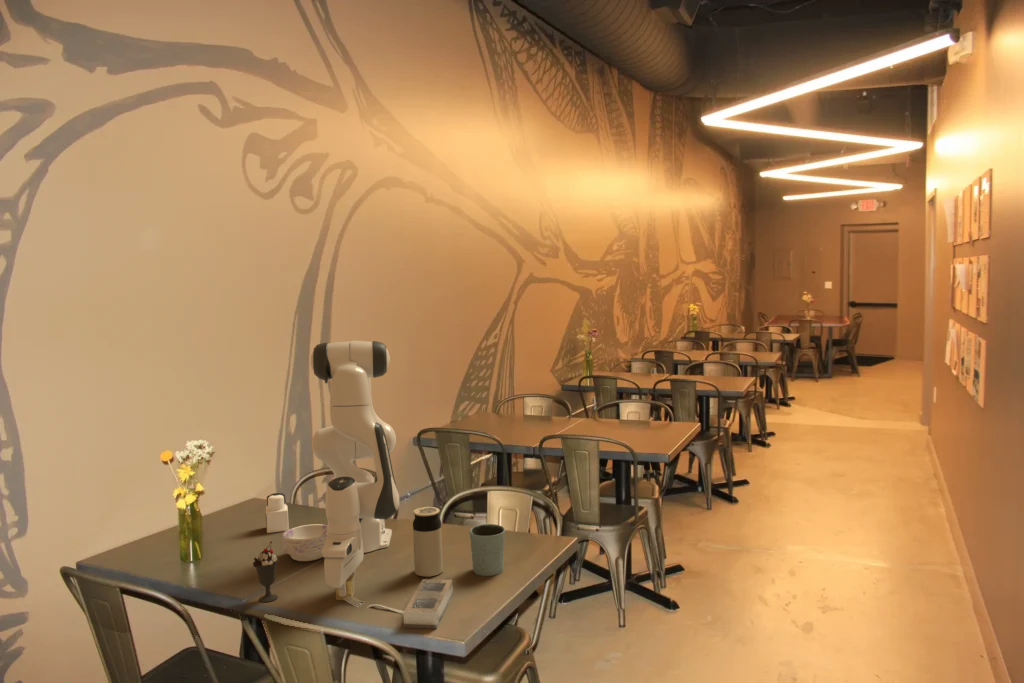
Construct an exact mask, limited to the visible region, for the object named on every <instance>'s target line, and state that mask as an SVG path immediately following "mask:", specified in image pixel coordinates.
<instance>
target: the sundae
mask: <svg viewBox="0 0 1024 683" xmlns="http://www.w3.org/2000/svg"><path fill="white" fill-rule="evenodd" d="M272 543H273V541H269V544H268V545H267V547H266V548H263V551H261V552H260V553H259V554H258V556H257V557H254V558H253V562H252V564H253V567H254V568H256V571H257V572H256V573H257V577H258V581H259V584H260V585H262V586H264V588H265V594H264V595H261V596H260V597H259V598H258V601H259V602H260V603H270V602H271V603H272V602H275V601H276V600H277V599H278V598H279V596H278V594H275V593H271V586H272V585H273V584H274V582H275V581H276V576H277V567H278V566H277V565H278V563H279V561H280V559H279V558H277V556H276V555H275V554H274V550H273V549H272ZM269 546H270V547H269ZM268 547H269V549H268Z"/></svg>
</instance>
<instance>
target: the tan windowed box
mask: <svg viewBox="0 0 1024 683" xmlns="http://www.w3.org/2000/svg"><path fill="white" fill-rule="evenodd" d="M453 596H454V583H453V579H432V578H431V579H429V578H428V579H427V578H425V579H424V578H423V579H422V580H421V582H420V583H419V585H418V587H417V588H416V590H415V592H414V593H413V595H412V597H411V599H410V600H409V601H408V604H407V605H406V607H405V609H404V610H403V611H404V612H403V613H404V614H403V628H404V629H428V630H429V629H431V630H436V629H438V627H439V625H440V623H441V621H442V619H443V616H444V614H445V612H446V610H447V608H448V607H449V604H450V602H451V600H452V599H453Z"/></svg>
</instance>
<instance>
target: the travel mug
mask: <svg viewBox="0 0 1024 683" xmlns="http://www.w3.org/2000/svg"><path fill="white" fill-rule="evenodd" d="M439 513H440V508H438V507H434V506H423V507H418V508H415V509H414V510H413V513H412V514H413V516H414V519H413V522H412V535H413V536H412V538H413V559H414V563H413V564H414V574H416V575H417V576H419V577H423V578H424V577H425V578H426V577H427V578H431V577H435V576H438V575H439V574H441V573H442V572H443V569H444V568H443V567H444V565H443V563H444V562H443V542H442V541H443V539H442V536H443V535H442V520H441V518H440V516H439Z"/></svg>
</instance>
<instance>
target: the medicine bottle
mask: <svg viewBox="0 0 1024 683" xmlns="http://www.w3.org/2000/svg"><path fill="white" fill-rule="evenodd" d="M288 509H289V508H288V505H287V504H286V495H285V494H284V493H281V492H274V493H270V494H269V495H267V496H266V507H265V522H266V524H265V525H266V533H267V534H270V533H271V534H272V533H279V532H286V531H287V530H289V529H290V527H289V510H288Z"/></svg>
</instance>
